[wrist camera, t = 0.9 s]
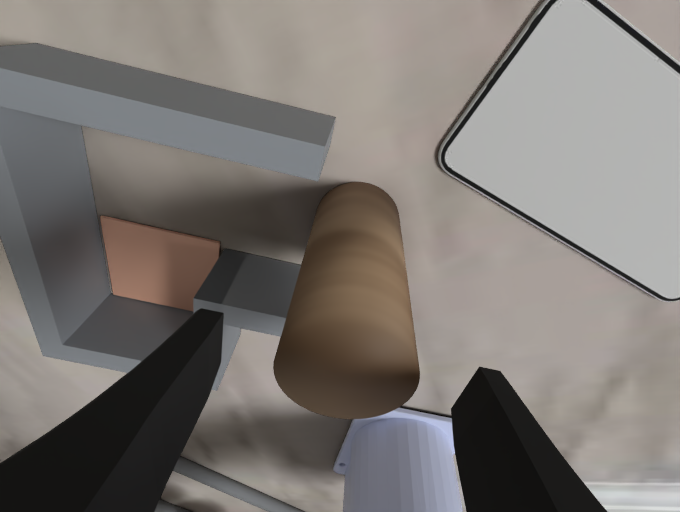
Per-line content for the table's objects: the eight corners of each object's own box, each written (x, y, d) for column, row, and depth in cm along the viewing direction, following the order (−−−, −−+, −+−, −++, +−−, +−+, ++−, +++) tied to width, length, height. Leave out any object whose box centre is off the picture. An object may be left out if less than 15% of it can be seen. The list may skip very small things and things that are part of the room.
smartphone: (567, -31, 12) (844, 191, 15) (559, -29, 12) (827, 185, 15) (428, 164, 16) (671, 308, 19) (426, 158, 16) (662, 300, 19)
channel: (289, 344, 23) (274, 401, 19) (93, 303, 22) (43, 355, 19) (335, 117, 15) (325, 146, 12) (36, 43, 14) (-67, 51, 11)
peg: (385, 263, 19) (394, 429, 11) (309, 246, 18) (266, 404, 11) (410, 193, 16) (442, 342, 9) (324, 172, 16) (283, 307, 9)
